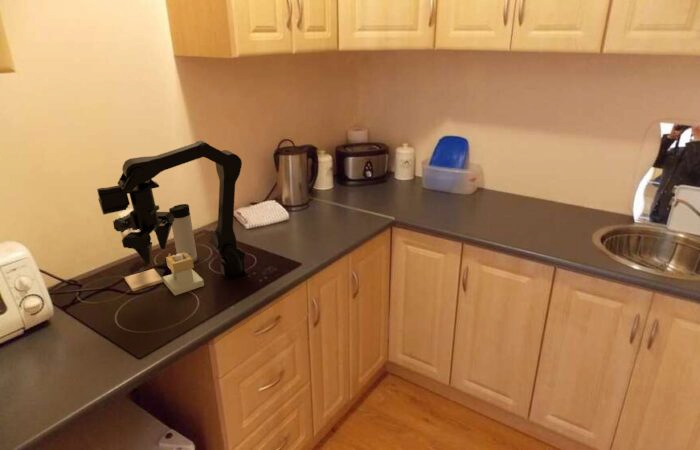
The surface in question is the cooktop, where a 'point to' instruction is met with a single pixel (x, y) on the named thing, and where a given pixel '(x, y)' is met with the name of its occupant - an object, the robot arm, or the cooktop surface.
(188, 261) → the collar
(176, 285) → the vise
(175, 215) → the travel mug
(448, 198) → the cooktop surface
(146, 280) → the pad
